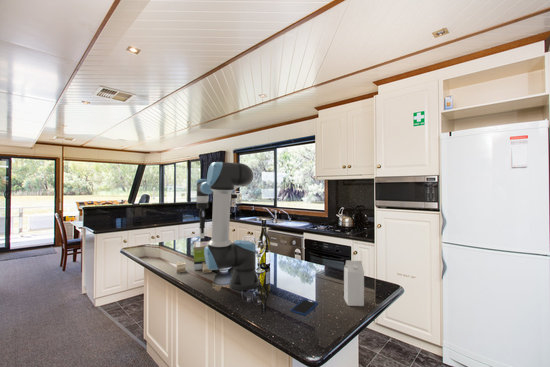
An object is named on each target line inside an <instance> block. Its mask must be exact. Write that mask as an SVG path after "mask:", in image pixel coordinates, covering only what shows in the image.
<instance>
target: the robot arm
mask: <svg viewBox="0 0 550 367" xmlns="http://www.w3.org/2000/svg"><path fill="white" fill-rule="evenodd" d="M253 180H254V171H253V170H252V169H251V167H250V166H249V165H247V164H244V163H242V162H225V161H224V162H223V161H216V162H215V161H214V162H211V163H210V165H209V167H208V170H207V175H206V178H198V179H197V180H196V209H199V211H198V215H199V227H198V229H199V239H205V228H206V211H205V209H209V199H210V197H209V195H210V194H211V195H213V196H212V197H213V198H212V216H211V217H212V219H211V220H212V221H211V223H212V224H211V238H210V240H208V241H209V242H208V247H207V246H206V247H205V248H204V256H205V261H206V265H207V267H208V269H210V270H212V271H215V270H216V271H218V270H223V269H230V268H233V271H232V275H231V278H230V282H229V287H230V288H231V289H233V290H237V291H249V290H254V289H256V288H257V287H259V284H260V283H259V282H260V281H259V276H258V274H257V271H256V270H257V269H256V267H257V266H256V262H257V259H256V258H257V248H256V244H255V243H254V242H253V241H250V240H249V241H248V240H242V239H237V240H234V241H233V243H232V241H231V240H230V220H231V219H230V217H231V216H230V215H231V200H232V199H231V198H232V197H231V196H232V194H235V192H236V190H237V189H238V188H240V187H247V186H249V185H250V184H251V183H252V182H253Z"/></svg>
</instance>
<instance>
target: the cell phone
mask: <svg viewBox="0 0 550 367" xmlns="http://www.w3.org/2000/svg"><path fill="white" fill-rule="evenodd" d="M318 304H319V302H317V301H314V300H311V299H307V298H304V299H301V301H299V302H298V303H297V304H296V305H295V306H294V307H292V308H291V309H290V311H292V312H291V313H293V312H295V313H294V314H296V313H298V314H297V315H301V316H307V315H308V314H310V313H311V311H312V310H313V309H314V308H316V307H317V305H318Z"/></svg>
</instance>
